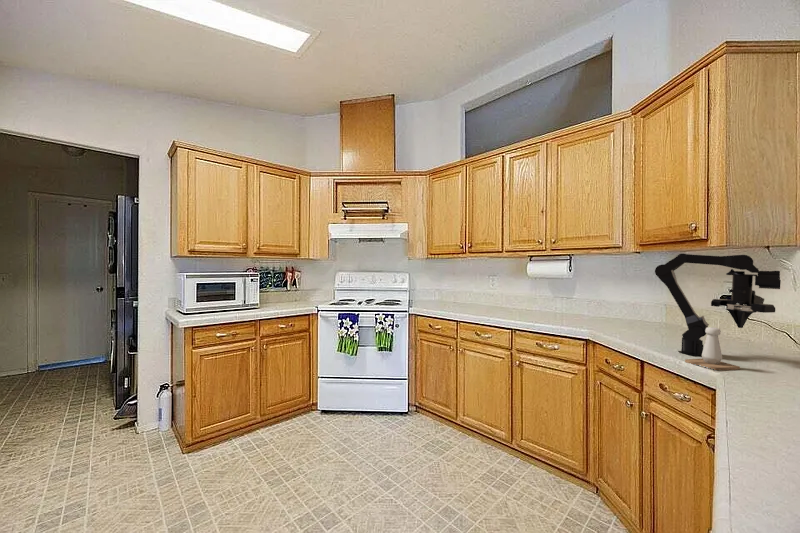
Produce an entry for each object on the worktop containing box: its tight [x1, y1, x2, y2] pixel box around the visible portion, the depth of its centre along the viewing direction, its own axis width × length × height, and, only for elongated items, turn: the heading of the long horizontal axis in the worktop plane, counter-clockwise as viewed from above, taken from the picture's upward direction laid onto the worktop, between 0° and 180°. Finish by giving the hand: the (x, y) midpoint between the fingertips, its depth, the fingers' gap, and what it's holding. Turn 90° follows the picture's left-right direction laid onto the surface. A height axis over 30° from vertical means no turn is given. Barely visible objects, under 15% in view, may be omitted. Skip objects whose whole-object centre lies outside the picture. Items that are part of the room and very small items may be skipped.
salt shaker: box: [701, 326, 723, 364], centre depth 137 cm, size 6×6×13 cm
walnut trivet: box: [684, 358, 741, 371], centre depth 137 cm, size 11×11×1 cm
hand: (740, 327), depth 143 cm, fingers closed
